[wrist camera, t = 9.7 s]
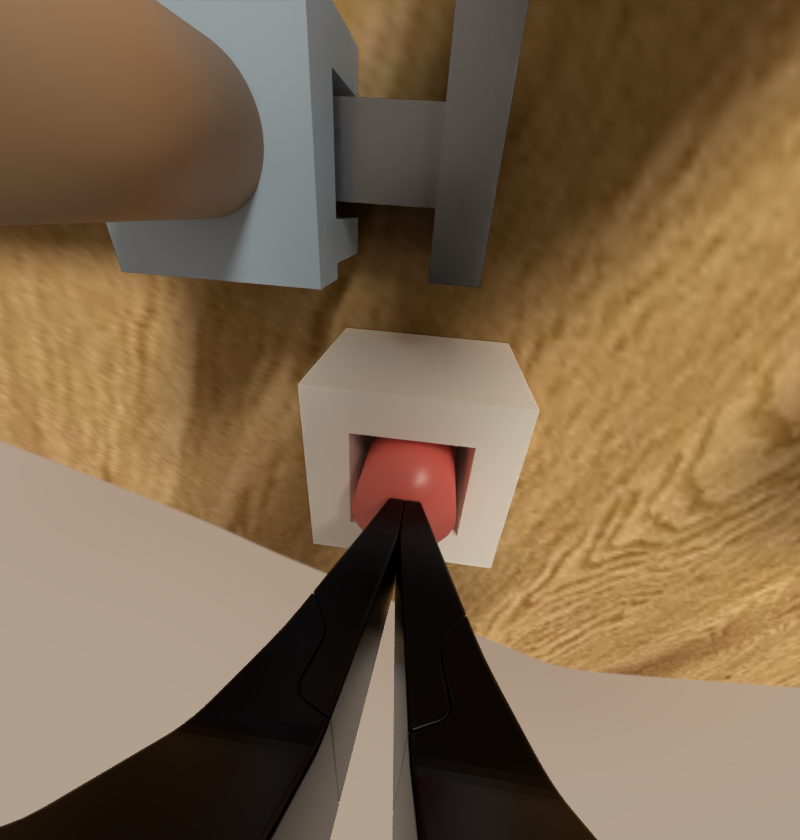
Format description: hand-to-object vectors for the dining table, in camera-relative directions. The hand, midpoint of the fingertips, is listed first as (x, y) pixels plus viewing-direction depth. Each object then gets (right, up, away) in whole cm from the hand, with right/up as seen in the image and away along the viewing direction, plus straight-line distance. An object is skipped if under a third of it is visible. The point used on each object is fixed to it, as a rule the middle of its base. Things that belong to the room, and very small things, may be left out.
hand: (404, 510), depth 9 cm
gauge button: (0, +2, +3) cm, 4 cm away
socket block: (+1, +3, +5) cm, 6 cm away
